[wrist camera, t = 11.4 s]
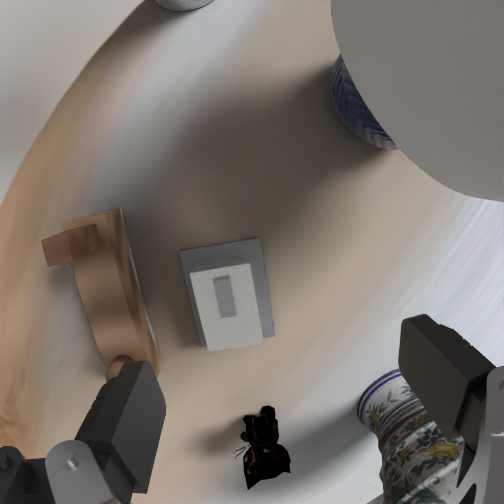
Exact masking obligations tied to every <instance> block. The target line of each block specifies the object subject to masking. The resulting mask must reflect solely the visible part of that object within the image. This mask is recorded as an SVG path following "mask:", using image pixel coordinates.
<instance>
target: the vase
mask: <svg viewBox="0 0 504 504" xmlns="http://www.w3.org/2000/svg"><path fill="white" fill-rule="evenodd" d="M357 416H358V418H359V420H360V421H361V422H362V423H363V424H364V425H366V426H367V427H368V428H369V429H370V430H371V431H372V432H373V433H374V434H375V435H376V436H377V438H378V447H379V450H380V452H381V454H382V467H381V470H380V474H379V476H380V479H381V481H382V482H383V491H384V502H383V504H447V503H448V500H449V498H450V495H451V491H452V488H453V483H454V479H455V475H456V471H457V466H458V461H459V456H460V450H461V446H462V443H463V441H464V439H463V438H462V436H459V437H457V438H454V439H452V440H450V441H447V440H446V438H445V437H444V435H443V434H442V432H441V431H440V429H439V428H438V426H437V425H436V424H435V422H434V421H433V419H432V418H431V416H430V415H429V413H428V412H427V410H426V409H425V408H424V406H423V405H422V403H421V402H420V400H419V399H418V398H417V396H416V395H415V393H414V392H413V391H412V389H411V388H410V386H409V385H408V384H407V382H406V381H405V379H404V378H403V376H402V375H401V372H400V369H396V370H393V371H391V372H389V373H387V374H385V375H384V376H382V377H380V378H379V379H378V380H376V381H375V382H374V383H373V384H372V385H370V386H369V387H368V388H367V390H366V391H365V392H364V393H363V395H362V397H361V398H360V401H359V404H358V408H357Z"/></svg>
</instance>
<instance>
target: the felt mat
mask: <svg viewBox="0 0 504 504" xmlns="http://www.w3.org/2000/svg"><path fill="white" fill-rule="evenodd" d="M243 254H249V258H250V264H251V269H252V275H253V281H254V287H255V292H256V298H257V304H258V310H259V316H260V321H261V327H262V334H263V338H267V337H273V336H275V332H274V326H273V319H272V312H271V306H270V299H269V293H268V286H267V280H266V273H265V267H264V260H263V254H262V247H261V241H260V237H259V238H252V239H246V240H240V241H234V242H228V243H222V244H216V245H210V246H204V247H198V248H193V249H187V250H181V251H179V255H180V259H181V264H182V269H183V273H184V277H185V282H186V286H187V290H188V295H189V299H190V303H191V307H192V311H193V315H194V319H195V323H196V327H197V331H198V335H199V339H200V343H201V347H204V346H207V343H206V339H205V335H204V332H203V328H202V324H201V320H200V316H199V312H198V307H197V303H196V299H195V295H194V291H193V286H192V282H191V278H190V271H191V269H192V267H193V265H194V264H195V263H196V262H202V261H208V260H213V259H219V258H225V257H231V256H237V255H243Z"/></svg>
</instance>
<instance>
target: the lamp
mask: <svg viewBox="0 0 504 504" xmlns="http://www.w3.org/2000/svg"><path fill="white" fill-rule="evenodd" d="M331 14H332V22H333V28H334V32H335V36H336V40H337V43H338V46H339V49H340V53H341V54H340V55H339V57H338V58H337V60H336V62H335V64H334V67H333V70H332V72H331V76H332V77H331V79H330V84H331V86H330V92H331V100H332V102H333V107H334V109H335V110H336V113H337V115H338V117H339V118H340V119H341V121H342V123H343V124H344V125H345V126H346V127H347V129H348V130H349V131H350V132H351V133H352V134H354V135H355V136H356V137H357V138H359V139H360V140H362V141H364V142H366V143H367V144H369V145H373V146H375V147H378V148H385V149H394V150H397V149H399V148H400V149H401V150H402V151H403V152H404V153H405V155H406V156H407V157H408V158H409V159H410V160H412V161H413V162H414V163H415V164H416V165H417V166H418V167H419V168H420V169H422V170H423V171H424V172H426V173H427V174H428V175H429V176H431V177H432V178H433V179H435V180H437V181H438V182H440V183H441V184H443V185H444V186H446V187H448V188H450V189H452V190H454V191H456V192H459V193H462V194H464V195H468V196H472V197H476V198H482V199H488V200H494V201H500V202H504V0H331Z"/></svg>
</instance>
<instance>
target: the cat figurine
mask: <svg viewBox="0 0 504 504" xmlns="http://www.w3.org/2000/svg"><path fill="white" fill-rule="evenodd" d="M261 414H262V416H261V417H255V416H254V415H246V416H245V417H244V418H243V420H244V422H245V424H246V433H245V432H244V431H243V432H242V433H241V435H240V436H241V439H242V440H244V442H249V443H250V445H251V447H250V448H249V449H248V450H247V451H246V453H245V454H244V456H243V463H244V473H245V478H246V483H247V488H248V490H249V489H250V488H251V487H253V486H254V485H255V484H256V483H258V482H259V481H260V480H265V479H271V478H275V477H277V476H279V475H280V474H281V473H283V472H287V473H290V462H291V460H290V457H289V454H288V451H287V450H286V449H285V448H284V447H283V446H282V445H280V444H277V441H278V438H279V431H278V420H277V419H276V418H275V416H276V415H275V408H273V407H271V406H269V405H268V406H264V407H262V410H261ZM245 447H246V446H245ZM245 447H243V448H245ZM248 447H249V445H248ZM243 448H241V449H243ZM241 449H239V450H241ZM245 449H246V448H245ZM245 449H244V450H245ZM244 450H243V451H244ZM237 451H238V450H237ZM243 451H242V452H243ZM235 452H236V451H235ZM235 452H234V453H235ZM242 452H241V453H242ZM234 453H233V454H234ZM239 454H240V453H239ZM239 454H238V455H239ZM238 455H237V456H238ZM237 456H236V457H237ZM236 457H235V458H236Z"/></svg>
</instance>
